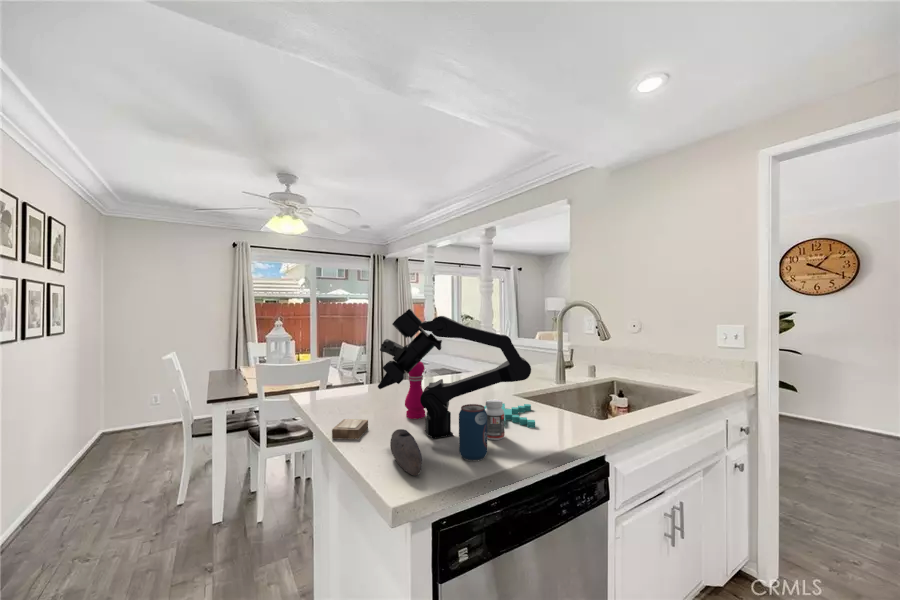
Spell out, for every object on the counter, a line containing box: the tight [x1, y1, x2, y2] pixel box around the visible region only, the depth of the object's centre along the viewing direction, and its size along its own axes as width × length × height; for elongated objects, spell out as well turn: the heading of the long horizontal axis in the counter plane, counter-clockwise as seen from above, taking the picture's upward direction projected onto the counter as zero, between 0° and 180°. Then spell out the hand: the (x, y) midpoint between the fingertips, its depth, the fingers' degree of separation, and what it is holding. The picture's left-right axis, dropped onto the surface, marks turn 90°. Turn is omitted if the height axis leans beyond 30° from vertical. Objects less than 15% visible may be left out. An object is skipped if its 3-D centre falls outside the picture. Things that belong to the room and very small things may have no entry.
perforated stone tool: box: [390, 428, 423, 477], centre depth 87 cm, size 15×5×7 cm, turn 22°
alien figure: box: [483, 402, 536, 429], centre depth 125 cm, size 20×2×20 cm
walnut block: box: [331, 418, 369, 440], centre depth 110 cm, size 3×9×8 cm
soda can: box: [458, 403, 488, 462], centre depth 93 cm, size 7×7×12 cm
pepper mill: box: [404, 361, 426, 420], centre depth 126 cm, size 7×7×20 cm
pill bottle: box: [485, 398, 506, 441], centre depth 106 cm, size 6×6×10 cm
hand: (378, 387), depth 110 cm, fingers closed
